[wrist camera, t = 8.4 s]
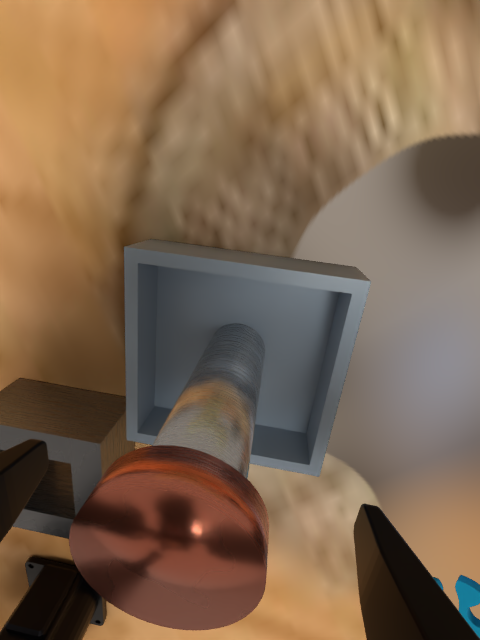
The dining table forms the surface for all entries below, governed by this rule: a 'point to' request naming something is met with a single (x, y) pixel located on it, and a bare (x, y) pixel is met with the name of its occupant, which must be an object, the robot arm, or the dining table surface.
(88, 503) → the pin
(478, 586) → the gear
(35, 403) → the hitch block
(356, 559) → the robot arm
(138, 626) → the dining table surface
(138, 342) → the tray
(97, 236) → the dining table surface
